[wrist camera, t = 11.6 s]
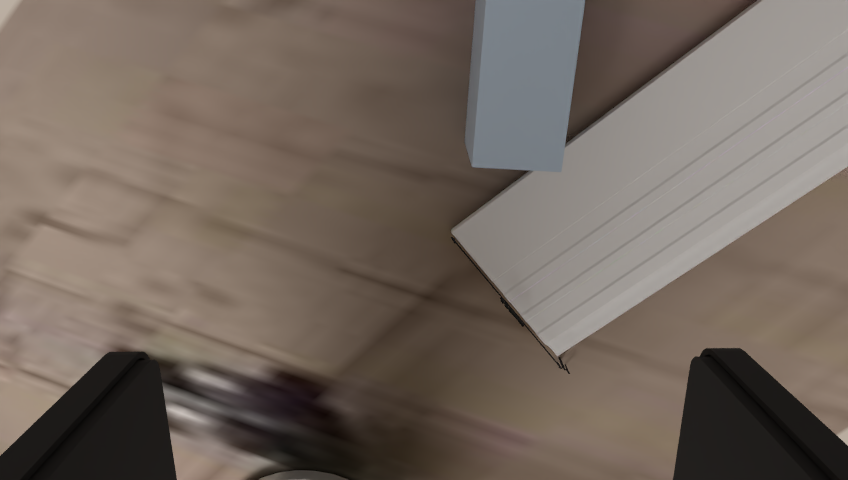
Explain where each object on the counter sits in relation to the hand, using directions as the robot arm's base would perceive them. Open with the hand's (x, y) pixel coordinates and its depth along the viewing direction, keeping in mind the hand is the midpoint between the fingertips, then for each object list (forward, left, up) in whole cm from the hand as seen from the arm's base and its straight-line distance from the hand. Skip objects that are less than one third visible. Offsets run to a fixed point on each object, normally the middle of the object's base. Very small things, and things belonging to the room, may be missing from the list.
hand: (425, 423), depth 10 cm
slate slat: (+7, -4, -23) cm, 25 cm away
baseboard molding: (0, -17, -24) cm, 29 cm away
